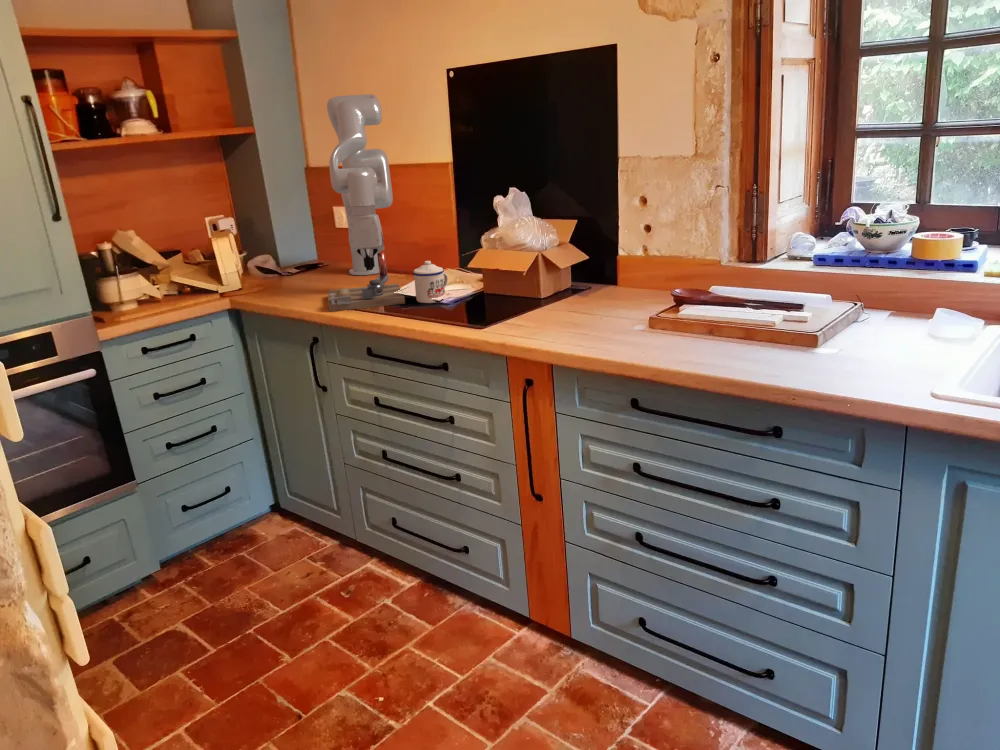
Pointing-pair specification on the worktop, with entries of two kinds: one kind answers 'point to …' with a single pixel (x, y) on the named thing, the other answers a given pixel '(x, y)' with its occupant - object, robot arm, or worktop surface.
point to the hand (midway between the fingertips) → (369, 269)
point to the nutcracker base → (358, 302)
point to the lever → (382, 278)
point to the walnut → (342, 292)
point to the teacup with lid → (429, 282)
